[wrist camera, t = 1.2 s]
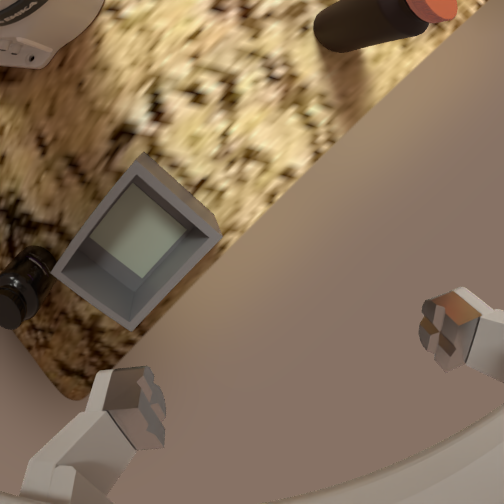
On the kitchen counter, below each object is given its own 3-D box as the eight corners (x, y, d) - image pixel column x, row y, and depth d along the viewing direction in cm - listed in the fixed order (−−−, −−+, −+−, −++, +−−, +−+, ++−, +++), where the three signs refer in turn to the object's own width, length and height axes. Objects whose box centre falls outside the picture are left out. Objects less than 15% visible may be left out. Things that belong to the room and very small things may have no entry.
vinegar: (344, 62, 36) (454, 45, 18) (303, 34, 33) (399, -11, 16) (364, 28, 34) (470, 1, 16) (325, 0, 32) (421, -50, 14)
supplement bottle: (59, 247, 37) (27, 293, 27) (59, 291, 40) (33, 343, 29) (17, 240, 35) (-23, 281, 25) (19, 283, 38) (-14, 330, 27)
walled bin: (136, 297, 43) (131, 331, 36) (69, 245, 38) (50, 272, 30) (213, 214, 41) (222, 237, 34) (143, 151, 36) (135, 159, 28)
